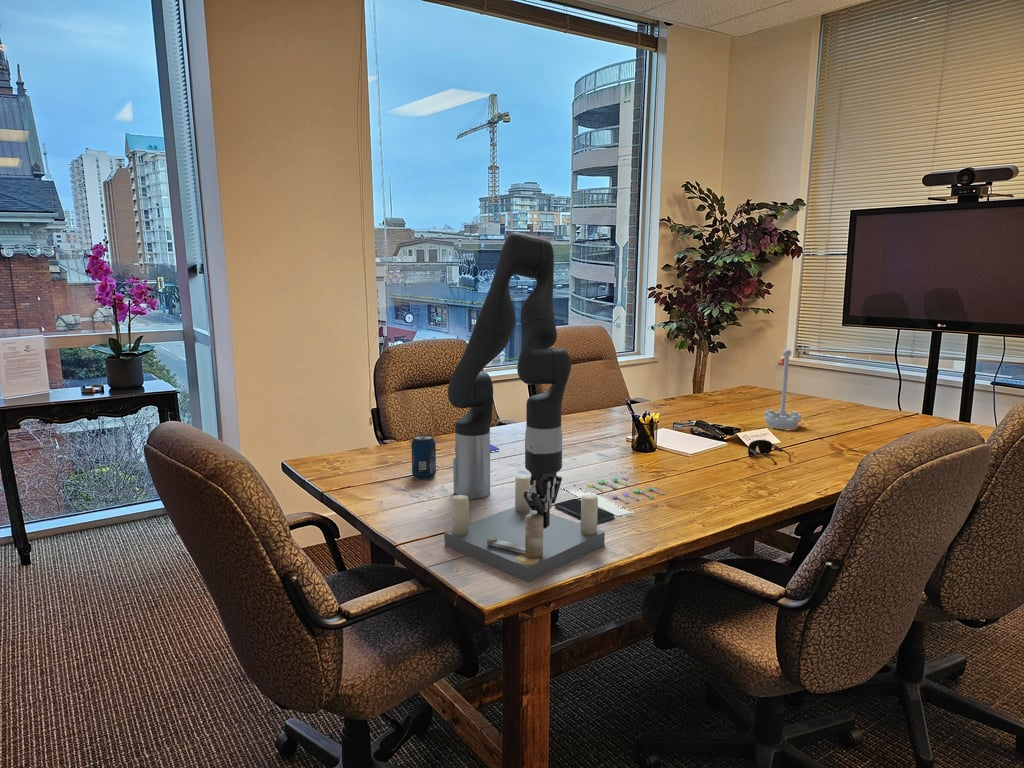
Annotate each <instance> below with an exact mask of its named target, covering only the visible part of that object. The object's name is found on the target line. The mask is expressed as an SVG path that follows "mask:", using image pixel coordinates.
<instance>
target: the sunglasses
mask: <svg viewBox="0 0 1024 768" xmlns="http://www.w3.org/2000/svg"><path fill="white" fill-rule="evenodd" d="M757 449H758V451H757ZM773 449H774V450H776V451H778V452H779V453H782V452H784V453H785V454H786V455H788V457H789V460H788V463H791V460H792V459H791V457H792V456H791V454H790V453H789V452H787V450H784V449H782V448H781V447H779V446H777V445H775V444H774V443H772V442H771V441H770V440H766V439H757V440H753V441H751V442H750V443H749V444H748V448H747V454H748V456H749V457H752V456H751V455H753V456H755V455H757V456H759V455H760V456H763V457H765V458H767V459H770V460H772V462H773V463H774V465H778V463H777V462H776V461H775V459H774V458H772V457H770V456H768V455H766V454H761V453H769V454H771V453H772V450H773Z"/></svg>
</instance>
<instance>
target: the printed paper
mask: <svg viewBox="0 0 1024 768" xmlns="http://www.w3.org/2000/svg"><path fill="white" fill-rule="evenodd" d="M622 478H623V479H622ZM624 479H625V480H624ZM621 480H624V481H629V482H631V481H632V482H631V483H634V484H635V485H640V483H639V482H636V481H633V480H631V479H629V477H622V476H621ZM621 480H619V478H611V479H610V480H606V479H605V480H604V479H601V480H597V483H599V484H601V485H603V484H605V485H606V486H607V485H608V486H610V487H612V489H615V490H619V489H621V488H620V487H618V486H614V485H613V484H610V482H617V483H619V484H624V485H629V483H628V482H623V481H621ZM586 486H588V488H590V487H592V488H594V487H595V489H596V490H598V491H600V492H603V491H605V489H604V488H603V487H602V488H599V487H597V485H596V484H593V483H592V482H591V481H590V482H589V483H587V484H586ZM561 489H562V490H564V489H563V488H561ZM646 489H647V491H653V492H654V493H659V494H662V495H664V494H665V492H664V491H662V492H661V491H659V490H656V489H658V488H657V487H655V488H654V487H653V486H651V487H646V488H645V489H641V488H640V489H639V488H635V489H632V492H634V493H635V494H639V492H640V494H641V495H645V496H646V497H648V499H653V500H654V498H657V497H656V496H655V495H650V494H648V493H646V492H645V491H646ZM566 490H567V489H565V490H564V491H566ZM573 490H574V489H573ZM584 490H585V489H584ZM584 490H583V491H584ZM568 491H569V492H568ZM568 491H567V492H568V493H570V494H572V495H574V496H577V497H578V498H580V499H581V497H582V496H583V495H595V496H597V497H598V508H600V509H602V510H604V511H607V512H609V513H611V514H614V516H616V517H619V516H623V515H629V514H632V513H634V512H633V511H634V510H633V511H632V512H631V511H630V512H629V511H628V509H629V508H628V509H627V510H626V509H625V510H624V508H623V509H622V508H621V507H622V506H623V505H621V506H619V508H618V507H617V506H618V505H614V504H615V503H616V502H614V501H612V500H609V499H607V498H605V497H602V496H600V495H598V494H595V493H593V492H591V491H589V492H590V493H589V492H587V493H584V492H582V491H581V490H579V491H577V490H575V491H577V492H576V493H575V491H572V490H571V492H570V490H568ZM580 491H581V492H580ZM591 493H592V494H591ZM619 495H620V494H617V495H616V494H614V495H613V494H609V495H607V496H608V498H612V499H618V500H620V501H623V502H624V503H625V504H628V503H630V501H628V500H625V499H622V498H621V497H619ZM621 495H623V496H624V497H629V496H630V495H631V494H629V493H628V492H626V491H624V492H623V493H621ZM631 497H632V499H633V498H634V500H635V501H638V502H639V501H641V498H639V497H637V498H636V497H634V496H632V495H631V496H630V497H629V498H631ZM608 500H609V501H610V502H609V501H608ZM607 501H608V502H607ZM611 501H612V502H611ZM613 502H614V503H613ZM620 508H621V509H620Z"/></svg>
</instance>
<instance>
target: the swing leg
mask: <svg viewBox="0 0 1024 768" xmlns="http://www.w3.org/2000/svg"><path fill="white" fill-rule="evenodd" d="M487 545H489V546H495V547H499V548H503V549H507V550H511V551H515V552H519V553H523V554H525V555H526V556H527V557H530V558H539V557H541V556H543V516H542V515H540V514H529V515H526V517H525V546H523V545H518V544H514V543H510V542H506V541H502V540H498V539H497V538H495V537H490V538H487Z"/></svg>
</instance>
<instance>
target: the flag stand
mask: <svg viewBox="0 0 1024 768" xmlns="http://www.w3.org/2000/svg"><path fill="white" fill-rule="evenodd" d="M782 355H783V356H784V358H782V359H781V360H780V363H782V366H783V372H782V373H783V375H782V390H781V400H780V401H781V404H780V409H779V410H778V412H775V410H774V409H768V410H767V411H764V412H763V413H764V415H763V417H764V418H763V419H764V420H765V421H766V425H767V426H769V427H772V428H778V429H795V430H797V429H798V424H799V423H800V422H802V421H801V420H802V414H801V413H799V412H797V411H793V410H792V411H790V413H789V412H787V410H786V402H787V401H786V400H787V389H788V375H789V361H790V356H791V355H792V351H791V350H790V349H789V348H785V349H784V350H783V351H782ZM767 426H766V427H767ZM769 427H768V428H769ZM772 428H771V429H772ZM796 428H797V429H796Z"/></svg>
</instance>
